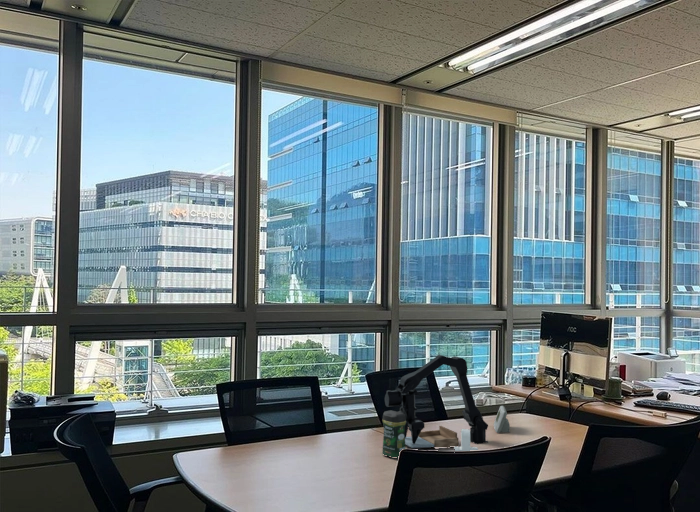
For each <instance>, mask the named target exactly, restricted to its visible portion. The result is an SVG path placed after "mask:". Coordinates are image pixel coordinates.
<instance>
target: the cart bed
mask: <svg viewBox="0 0 700 512" xmlns="http://www.w3.org/2000/svg"><path fill="white" fill-rule="evenodd" d="M418 437H420V438H422V439H424V440H426V441H428V442H430V443H432V444H434V447H450V446H458V447H459V437H458V432H456V431H455V430H451V429H449V428H448V427H445V426H442V425H439V427H438V429H436V430H435V429H433V430H424V431H422V430H421V432H420V434H419V436H418Z"/></svg>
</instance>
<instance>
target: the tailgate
mask: <svg viewBox="0 0 700 512" xmlns="http://www.w3.org/2000/svg"><path fill="white" fill-rule="evenodd" d="M405 446H407V447H409V448H412V449H413V448H414V449H415V448H431V447H434V444H432V443H430V442H428V441H426V440H424V439H422V438H420V437H418V438H417V440H416V442H415V444H413V443H412V436H406V438H405Z"/></svg>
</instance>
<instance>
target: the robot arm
mask: <svg viewBox="0 0 700 512" xmlns="http://www.w3.org/2000/svg"><path fill="white" fill-rule="evenodd" d="M443 365H444V366H449V368H450V370H451V372H452V374H454V376H455V377H456V382H457V384H458V388H459V391H460V394H461V398H462V401H463V404H464V409H463V410H461V412H462V415H463V420H464V421H466V422H467V424H468V426H469V427H470V428H469V429H470V442H471V441H472V442H471V443H473V442H474V443H473V444H476V443H477V444H484V443H483V442H487V443H488V442H489V441H488V440H487V439H486V438H487V435H486V434H487V433H486V432H487V430H488V427H489V424H488V423H487V422H486V421H485V420H484V416H483V415H482V413H481V411H480V410H479V408H478V407H477V405H476V402H475V400H474V396H473V392H472V389H471V386H470V385H471V384H470V382H469V378H468V376H467V375H468V374H467V373H468V363H467V361H466V359H465V358H463V357H460V356H452V357H450V356H446V355H441V354H438V355H436V356H435V357H434V358H433V359H431V360H430V361H428V362H426V364H424V365H422V366H421V367H419V368H418V369H417V370H416V371H413V372H409V373H407V374H405V375H402V377H401V378H400V380H399V384H398V385H397V386H396V388H395V390H386V393H385V395H384V404H385V406H386V407H387V408H389V407H399V406H400V407H399V411H397V412H400V413H404V414H405V417H406V424H405V438H406V437H407V435H408V430H409V431H410V434H411V436H410V437H412V443H413V444H415V442H416V440H417V438H418V436H419V434H420V432H422V430H424V429H425V422H424V421H422V420H421V419H418V417H417V416H416V411H417V410H418V408H417V407H416V396H419V395H420V394H421V393H420V392H419V391H418V390H417V387H418V386H419V385H420V384H421V382H422V381H423V380H424V379H425V378H426V377H428V376H429V375H431V374H432V373H433V372H435V371H436V370H438V369H439V368H440V367H442V366H443Z"/></svg>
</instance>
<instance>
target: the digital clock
mask: <svg viewBox="0 0 700 512" xmlns="http://www.w3.org/2000/svg"><path fill="white" fill-rule="evenodd" d="M507 416H508V413H507V410H506V407H505V406H504V405H500V406H499V409H498V411H497V414H496V416H495V419H494V422H493V428H494V431H495V433H498V434H499V433H510V432H511V431H510V430H511V427H510V425H511V424H510V421H509V419H508V418H507Z"/></svg>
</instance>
